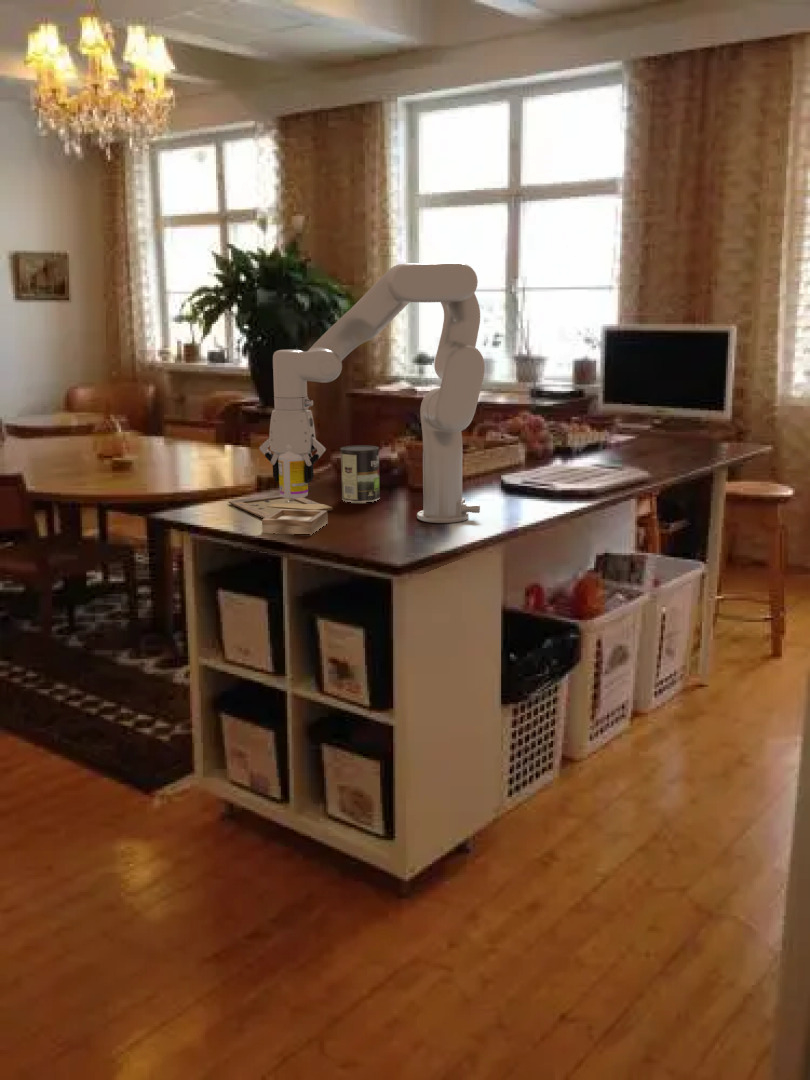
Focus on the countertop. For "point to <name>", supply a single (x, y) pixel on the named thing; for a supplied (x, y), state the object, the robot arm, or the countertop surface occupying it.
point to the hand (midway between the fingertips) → (293, 480)
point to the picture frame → (276, 505)
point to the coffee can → (360, 473)
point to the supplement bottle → (292, 475)
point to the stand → (294, 521)
